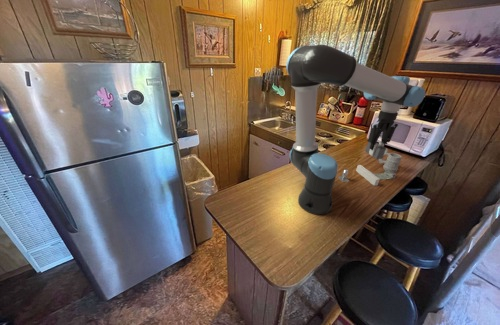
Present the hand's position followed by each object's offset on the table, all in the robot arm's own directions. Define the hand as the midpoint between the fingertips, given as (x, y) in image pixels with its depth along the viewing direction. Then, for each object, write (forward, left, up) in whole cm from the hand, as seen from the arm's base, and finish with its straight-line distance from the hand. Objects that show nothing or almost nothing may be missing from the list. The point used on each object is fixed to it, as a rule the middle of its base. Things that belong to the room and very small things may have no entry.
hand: (374, 154), depth 106 cm
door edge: (0, 0, -15) cm, 15 cm away
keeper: (+8, 0, -15) cm, 17 cm away
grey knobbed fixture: (-14, 0, -15) cm, 21 cm away
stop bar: (0, +1, -1) cm, 1 cm away
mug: (+20, +9, -15) cm, 27 cm away
